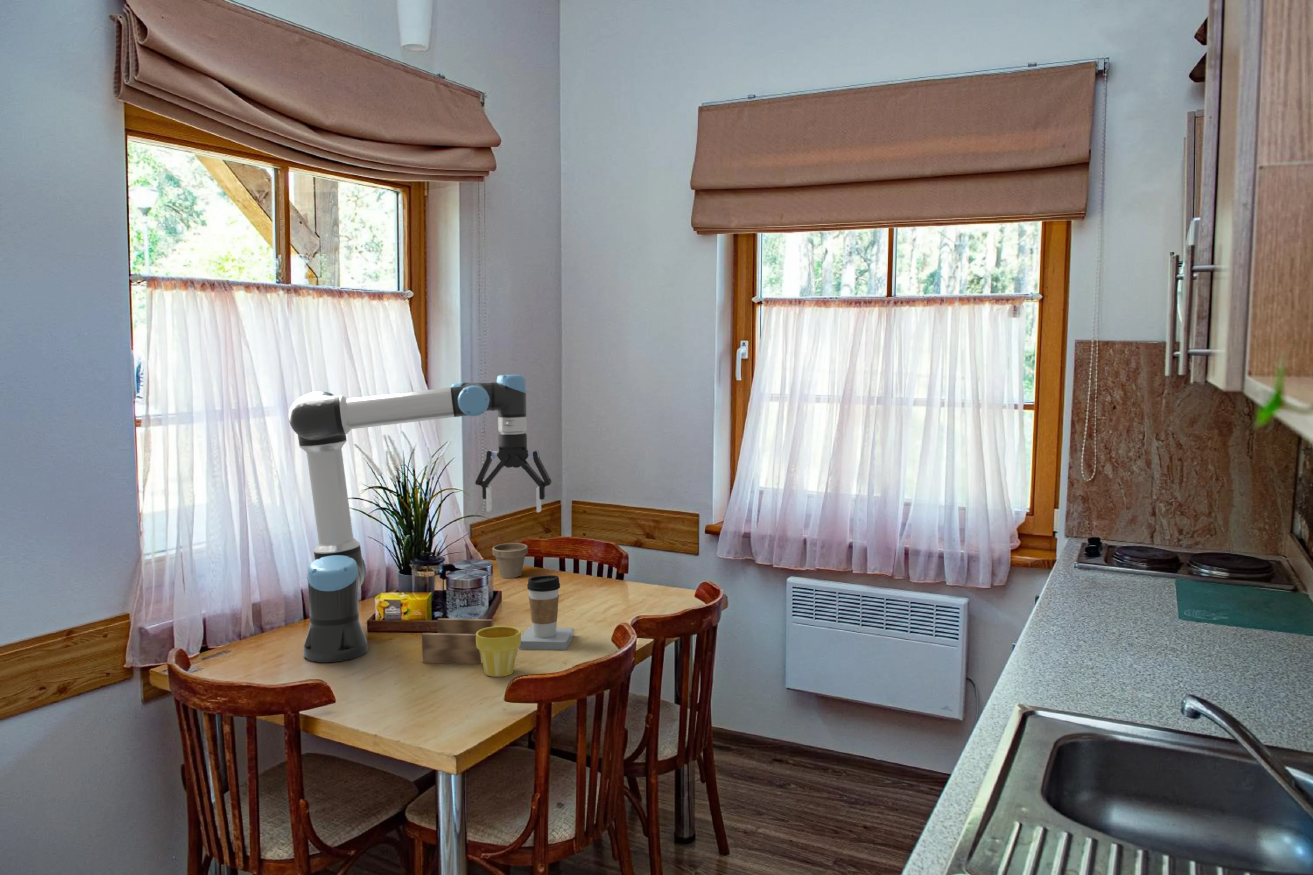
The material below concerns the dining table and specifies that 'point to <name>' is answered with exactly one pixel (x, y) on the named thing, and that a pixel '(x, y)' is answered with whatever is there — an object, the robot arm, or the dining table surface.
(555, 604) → the coffee cup
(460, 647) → the rack
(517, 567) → the flower pot
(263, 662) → the dining table surface
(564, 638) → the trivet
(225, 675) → the dining table surface
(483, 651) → the plant pot
